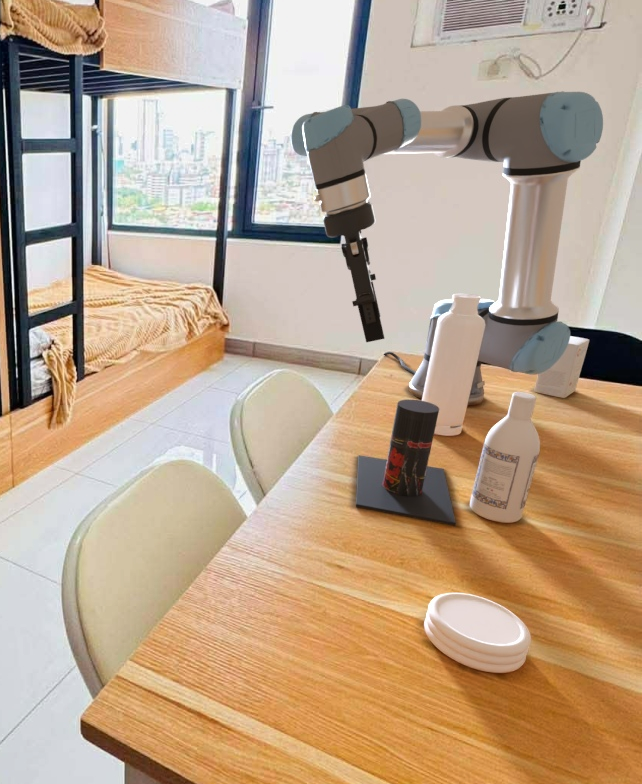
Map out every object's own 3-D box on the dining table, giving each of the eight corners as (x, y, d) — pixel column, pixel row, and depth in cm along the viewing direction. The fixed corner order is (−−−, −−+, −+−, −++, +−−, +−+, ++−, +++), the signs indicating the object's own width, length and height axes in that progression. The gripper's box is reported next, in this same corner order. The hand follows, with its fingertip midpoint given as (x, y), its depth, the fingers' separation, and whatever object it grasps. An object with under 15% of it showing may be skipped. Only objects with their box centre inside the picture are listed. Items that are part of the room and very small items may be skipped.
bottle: (464, 438, 126) (496, 301, 117) (419, 432, 129) (446, 298, 120) (457, 423, 134) (486, 293, 124) (414, 418, 136) (439, 290, 127)
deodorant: (427, 498, 103) (445, 413, 98) (388, 494, 104) (403, 411, 99) (415, 481, 109) (431, 400, 104) (378, 478, 110) (392, 398, 105)
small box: (544, 384, 156) (558, 333, 151) (575, 391, 151) (590, 339, 146) (532, 391, 151) (546, 339, 147) (564, 398, 146) (579, 345, 142)
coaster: (540, 651, 72) (548, 626, 70) (498, 689, 66) (506, 663, 65) (449, 603, 79) (455, 580, 78) (406, 634, 74) (411, 610, 73)
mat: (358, 457, 119) (358, 455, 119) (443, 471, 113) (443, 468, 113) (355, 506, 102) (356, 504, 102) (455, 525, 96) (456, 523, 96)
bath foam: (502, 501, 103) (531, 386, 96) (531, 524, 96) (565, 403, 90) (459, 501, 103) (486, 387, 96) (486, 524, 96) (517, 403, 90)
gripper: (323, 206, 115) (349, 315, 120) (319, 225, 94) (350, 355, 99) (368, 192, 112) (393, 305, 117) (374, 208, 90) (403, 345, 96)
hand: (373, 328), depth 108 cm, fingers open, 13 cm apart
